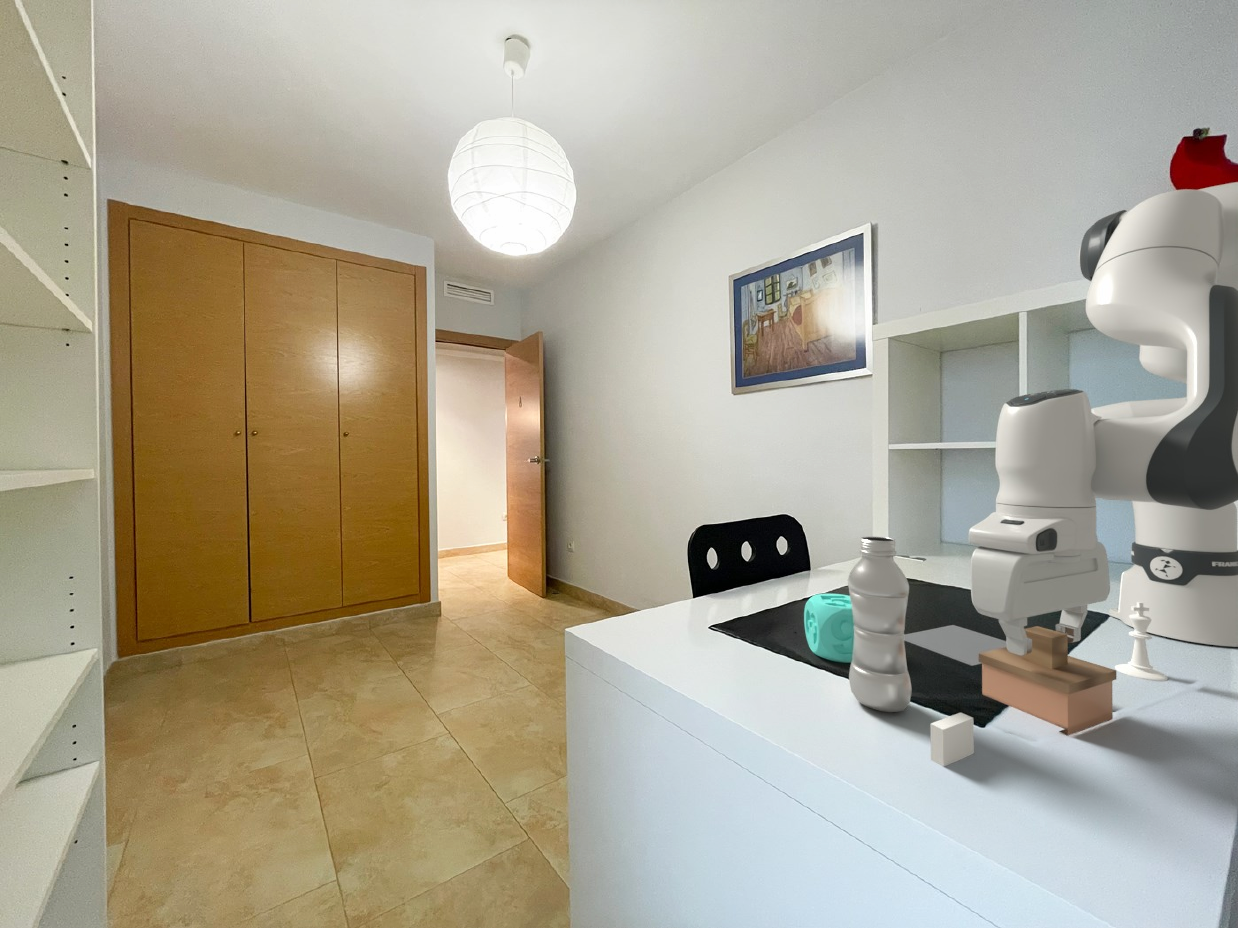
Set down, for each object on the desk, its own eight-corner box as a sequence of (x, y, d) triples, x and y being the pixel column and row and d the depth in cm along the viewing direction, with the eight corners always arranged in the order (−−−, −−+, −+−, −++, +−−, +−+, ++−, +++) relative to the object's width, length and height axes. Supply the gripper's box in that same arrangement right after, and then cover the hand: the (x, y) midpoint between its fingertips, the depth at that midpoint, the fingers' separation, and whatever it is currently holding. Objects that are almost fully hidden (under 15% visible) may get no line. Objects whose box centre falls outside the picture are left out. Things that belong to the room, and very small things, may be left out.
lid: (1024, 650, 62) (1024, 615, 62) (1116, 679, 54) (1116, 639, 54) (978, 661, 59) (978, 625, 59) (1069, 694, 51) (1068, 651, 51)
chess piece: (1180, 687, 61) (1179, 608, 61) (1134, 684, 62) (1133, 607, 62) (1146, 670, 66) (1145, 597, 66) (1104, 667, 67) (1103, 596, 67)
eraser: (930, 760, 47) (930, 723, 47) (960, 747, 49) (960, 711, 49) (943, 767, 46) (943, 729, 46) (973, 754, 48) (973, 717, 48)
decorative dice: (855, 643, 77) (854, 593, 77) (877, 664, 69) (876, 608, 69) (804, 641, 78) (803, 592, 78) (819, 662, 70) (819, 607, 70)
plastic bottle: (889, 725, 53) (887, 545, 53) (836, 699, 59) (835, 537, 59) (924, 711, 56) (922, 540, 56) (870, 687, 62) (869, 533, 62)
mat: (953, 628, 83) (953, 624, 83) (1034, 653, 72) (1034, 649, 72) (894, 640, 78) (894, 636, 78) (972, 669, 67) (972, 665, 67)
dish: (1025, 686, 62) (1025, 651, 62) (1112, 718, 54) (1112, 678, 54) (982, 698, 59) (982, 662, 59) (1067, 735, 51) (1067, 693, 51)
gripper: (1063, 520, 63) (1064, 625, 63) (958, 531, 56) (959, 650, 56) (1128, 526, 57) (1128, 642, 57) (1020, 539, 50) (1021, 672, 50)
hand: (1044, 646), depth 56 cm, fingers open, 8 cm apart
